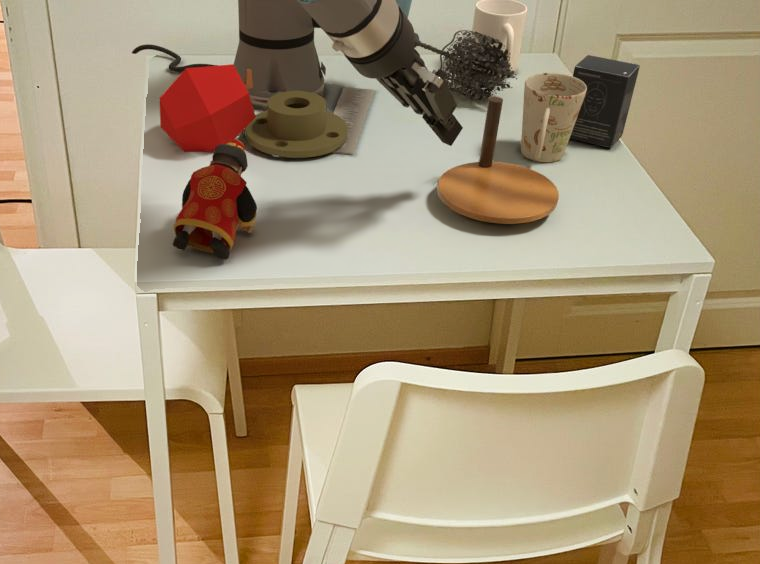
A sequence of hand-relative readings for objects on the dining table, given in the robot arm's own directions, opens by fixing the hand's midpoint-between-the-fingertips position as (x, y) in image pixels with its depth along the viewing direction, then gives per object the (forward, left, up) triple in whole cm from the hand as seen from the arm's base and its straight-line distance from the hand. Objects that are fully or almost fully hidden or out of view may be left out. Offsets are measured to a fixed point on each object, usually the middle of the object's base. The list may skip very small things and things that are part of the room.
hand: (452, 135), depth 120 cm
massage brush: (-23, +26, +1) cm, 34 cm away
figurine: (-8, -35, -8) cm, 37 cm away
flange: (-19, -1, -5) cm, 19 cm away
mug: (+2, +18, -8) cm, 20 cm away
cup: (-23, +38, -8) cm, 45 cm away
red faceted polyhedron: (-36, -21, -5) cm, 42 cm away
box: (+2, +30, -8) cm, 31 cm away
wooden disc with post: (+6, +3, -7) cm, 10 cm away
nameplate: (-23, +8, -8) cm, 26 cm away
